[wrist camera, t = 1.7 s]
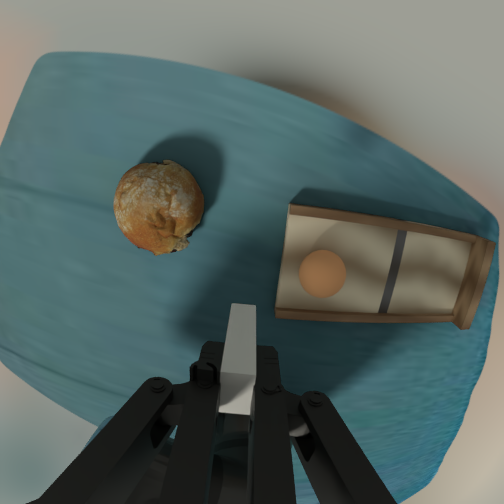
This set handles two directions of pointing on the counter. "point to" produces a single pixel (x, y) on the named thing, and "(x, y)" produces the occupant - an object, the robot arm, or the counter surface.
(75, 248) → the counter surface
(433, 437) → the counter surface
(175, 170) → the bread roll
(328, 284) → the ball
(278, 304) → the lane
